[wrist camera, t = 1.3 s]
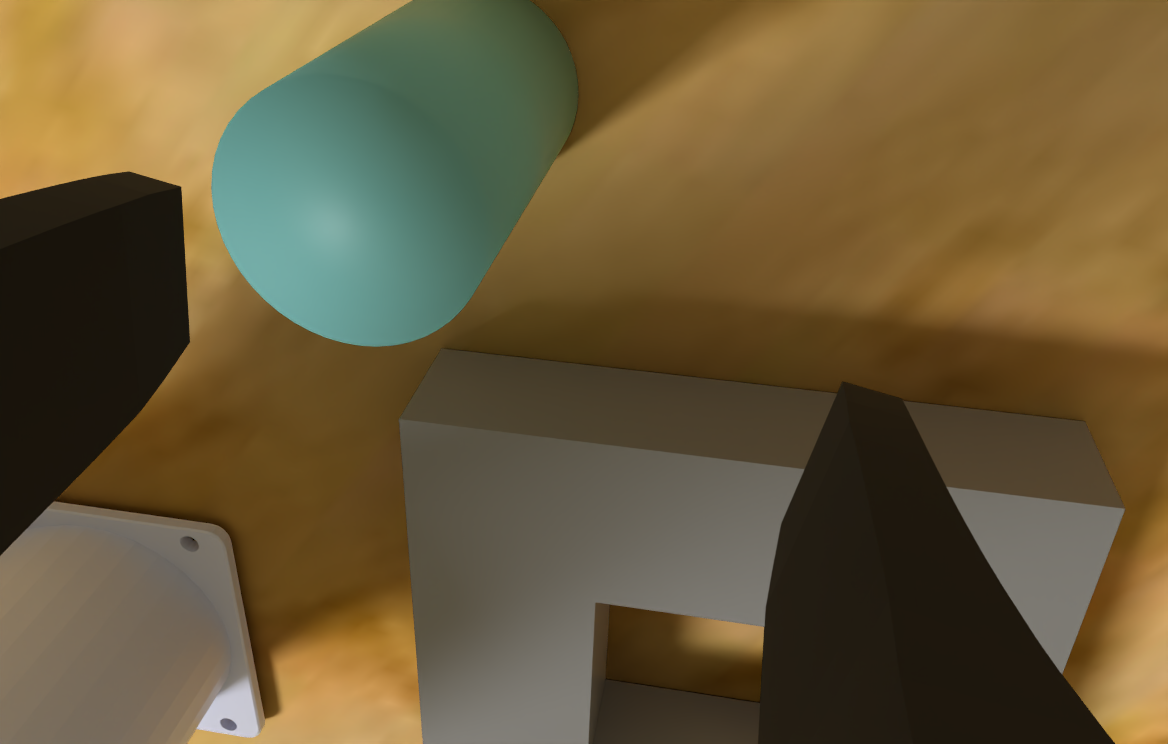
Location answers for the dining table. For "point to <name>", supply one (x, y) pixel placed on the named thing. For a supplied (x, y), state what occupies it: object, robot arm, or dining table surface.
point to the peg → (395, 166)
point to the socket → (672, 532)
